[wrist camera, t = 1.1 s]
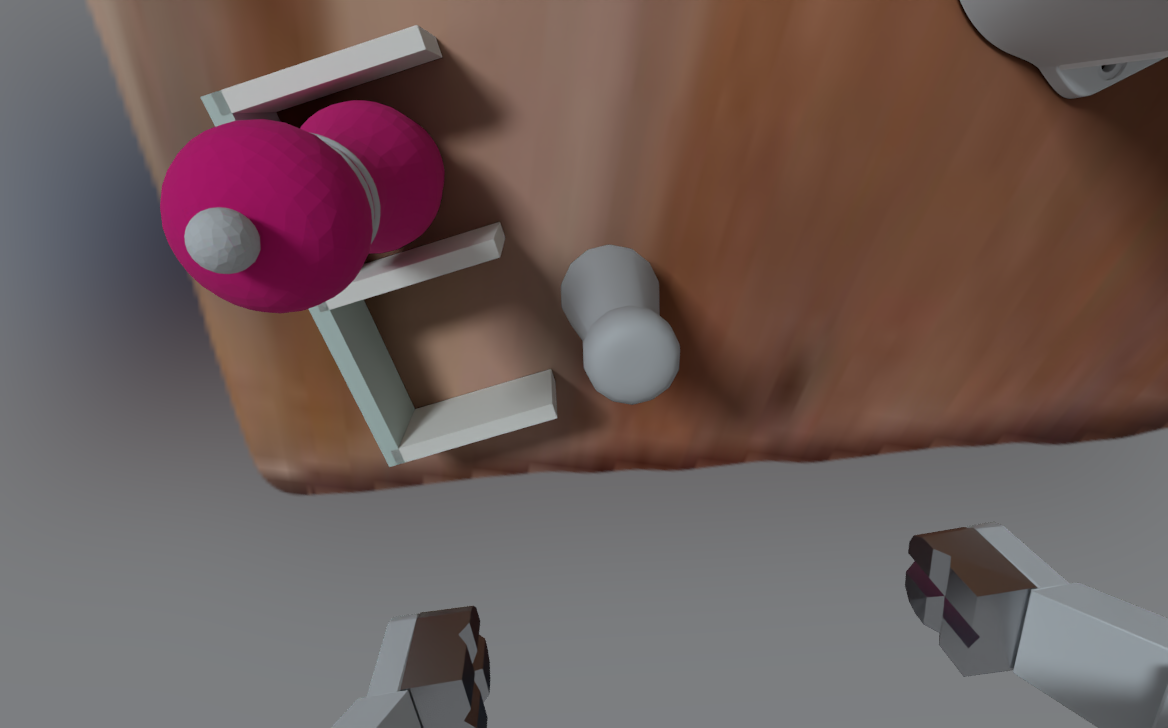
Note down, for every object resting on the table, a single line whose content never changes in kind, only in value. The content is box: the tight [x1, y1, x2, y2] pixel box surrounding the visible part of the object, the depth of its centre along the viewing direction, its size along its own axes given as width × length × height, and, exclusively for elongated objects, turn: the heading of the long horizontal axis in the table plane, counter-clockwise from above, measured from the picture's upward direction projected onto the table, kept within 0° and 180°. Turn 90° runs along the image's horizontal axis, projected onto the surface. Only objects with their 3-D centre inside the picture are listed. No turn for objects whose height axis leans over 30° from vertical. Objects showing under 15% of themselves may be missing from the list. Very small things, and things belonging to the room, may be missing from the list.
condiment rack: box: [201, 25, 557, 467], centre depth 33 cm, size 10×21×5 cm, turn 16°
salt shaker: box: [561, 245, 680, 405], centre depth 31 cm, size 6×6×13 cm
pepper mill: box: [160, 100, 445, 313], centre depth 24 cm, size 7×7×20 cm
